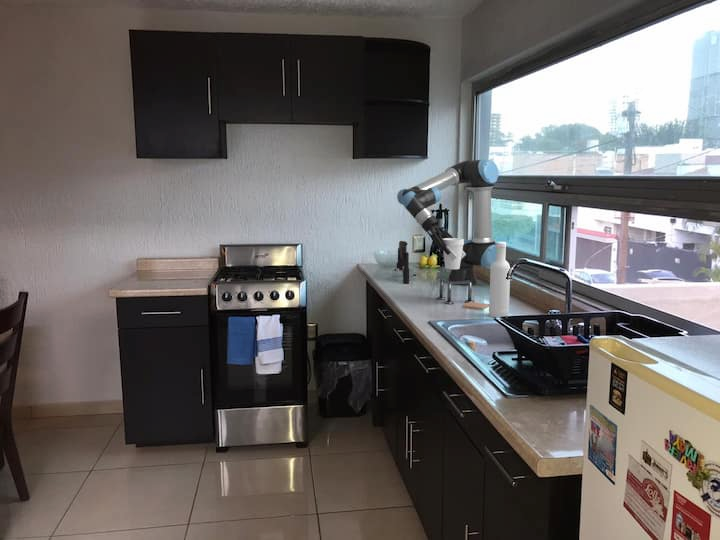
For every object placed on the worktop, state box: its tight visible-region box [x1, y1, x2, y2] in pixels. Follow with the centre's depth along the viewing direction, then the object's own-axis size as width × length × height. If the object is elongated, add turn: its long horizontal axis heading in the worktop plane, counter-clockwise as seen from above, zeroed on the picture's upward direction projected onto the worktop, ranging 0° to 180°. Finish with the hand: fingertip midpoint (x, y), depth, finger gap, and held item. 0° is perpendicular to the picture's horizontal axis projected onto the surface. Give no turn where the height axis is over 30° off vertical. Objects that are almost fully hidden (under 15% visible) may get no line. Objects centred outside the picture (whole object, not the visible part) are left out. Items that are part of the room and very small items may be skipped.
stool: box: [387, 240, 418, 285], centre depth 321 cm, size 16×21×33 cm
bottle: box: [488, 241, 511, 319], centre depth 234 cm, size 8×8×30 cm
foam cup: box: [442, 237, 465, 270], centre depth 258 cm, size 10×9×13 cm
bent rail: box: [436, 278, 475, 305], centre depth 263 cm, size 11×18×10 cm, turn 58°
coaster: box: [461, 301, 489, 311], centre depth 253 cm, size 9×9×1 cm
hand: (459, 257), depth 256 cm, fingers closed on foam cup, 9 cm apart
